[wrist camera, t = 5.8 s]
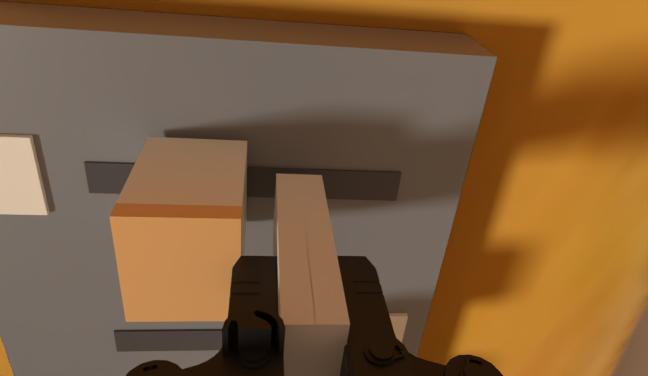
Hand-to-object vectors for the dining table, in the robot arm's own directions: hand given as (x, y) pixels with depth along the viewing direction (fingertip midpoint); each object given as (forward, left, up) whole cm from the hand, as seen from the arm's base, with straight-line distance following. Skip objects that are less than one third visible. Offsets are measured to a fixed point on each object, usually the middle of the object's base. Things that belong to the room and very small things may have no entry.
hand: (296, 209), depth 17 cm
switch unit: (-3, -8, -5) cm, 10 cm away
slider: (-3, 0, -1) cm, 4 cm away
